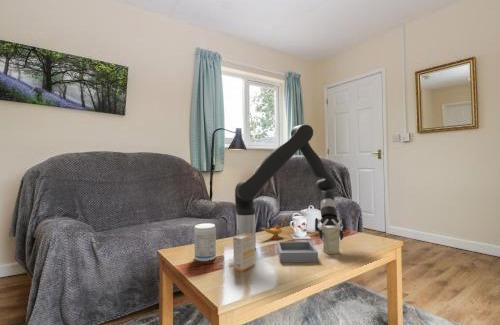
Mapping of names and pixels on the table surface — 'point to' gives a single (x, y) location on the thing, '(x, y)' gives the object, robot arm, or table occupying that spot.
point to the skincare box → (331, 239)
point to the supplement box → (243, 251)
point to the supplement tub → (205, 242)
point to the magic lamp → (275, 230)
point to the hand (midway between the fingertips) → (331, 238)
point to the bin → (297, 252)
